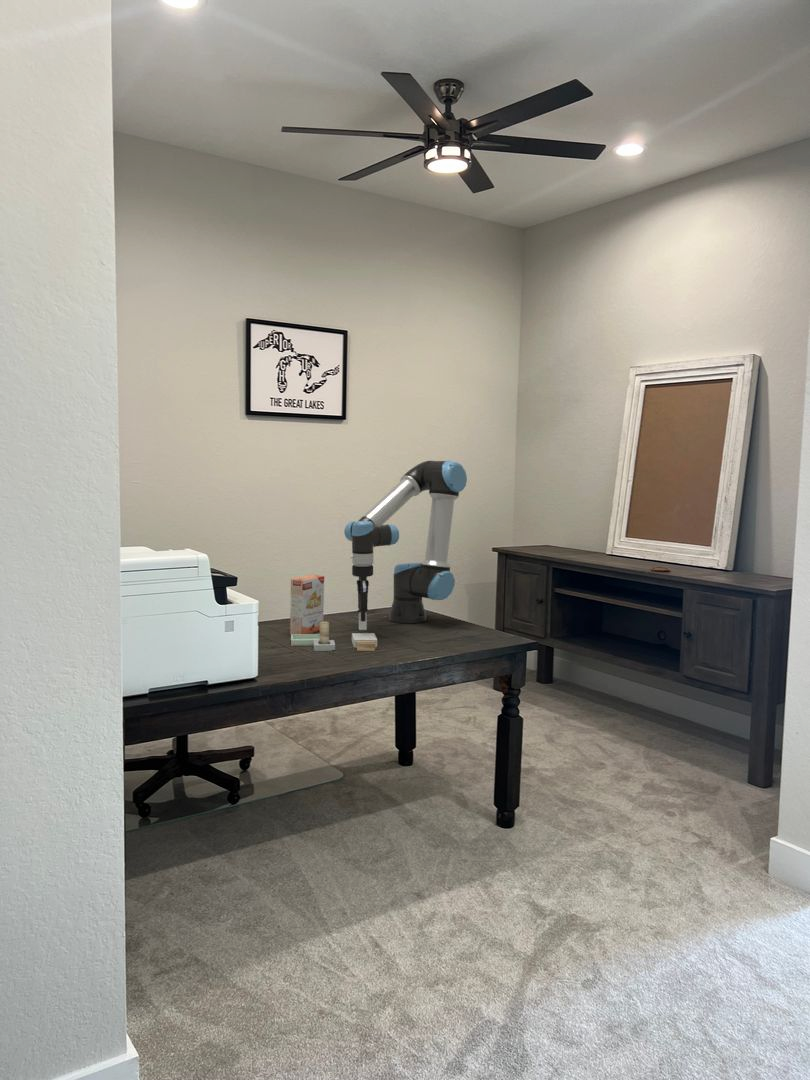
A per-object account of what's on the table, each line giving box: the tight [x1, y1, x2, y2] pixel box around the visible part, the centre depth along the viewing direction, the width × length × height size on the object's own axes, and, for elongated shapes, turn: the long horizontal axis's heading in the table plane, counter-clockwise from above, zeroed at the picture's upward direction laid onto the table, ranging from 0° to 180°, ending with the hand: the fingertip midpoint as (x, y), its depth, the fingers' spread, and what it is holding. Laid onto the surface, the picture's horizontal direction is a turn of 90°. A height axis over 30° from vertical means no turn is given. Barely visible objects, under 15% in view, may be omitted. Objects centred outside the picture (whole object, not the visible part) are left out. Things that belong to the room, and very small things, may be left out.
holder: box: [312, 639, 336, 652], centre depth 267 cm, size 7×7×2 cm
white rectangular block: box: [351, 632, 378, 648], centre depth 275 cm, size 10×8×3 cm
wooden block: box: [355, 641, 376, 652], centre depth 267 cm, size 4×6×2 cm, turn 99°
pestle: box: [319, 621, 330, 644], centre depth 267 cm, size 3×3×9 cm
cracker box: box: [289, 574, 325, 635], centre depth 289 cm, size 14×6×21 cm, turn 152°
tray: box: [290, 633, 320, 647], centre depth 274 cm, size 9×12×2 cm
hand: (362, 629), depth 281 cm, fingers closed
